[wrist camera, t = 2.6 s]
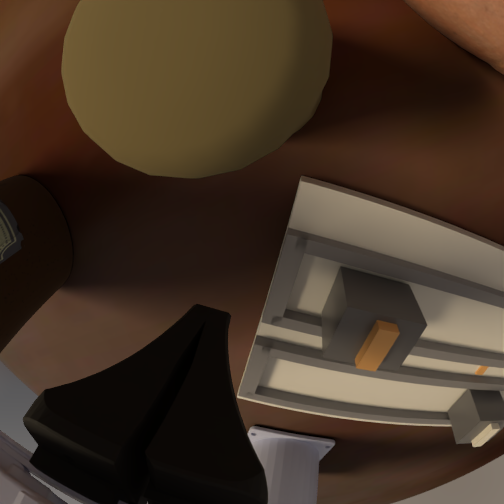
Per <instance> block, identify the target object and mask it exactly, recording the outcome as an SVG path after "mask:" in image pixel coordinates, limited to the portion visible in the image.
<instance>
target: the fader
mask: <svg viewBox="0 0 504 504" xmlns="http://www.w3.org/2000/svg"><path fill="white" fill-rule="evenodd" d="M448 415H449V418H450V422H451V426H452V429H453V433H454V437H455V441H456V444H463V443H472V446H473V447H479V446H482V445H483V444H484V443H485V442H488V441H489V440H490V439H491V438H492V437H494V436H495V435H496V434H497V433H498V432H499V431H500V430H501V429H502V428H503V427H504V400H503V398H502V396H501V393H500V391H494V390H476V389H467V390H466V391H465V392H464V393H463V395H462V396H461V397H460V398H459V399H458V400H457V401H456V402H455V403H454V405H453V406H452V407H451V408H450V409H449V410H448Z"/></svg>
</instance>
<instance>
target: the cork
mask: <svg viewBox="0 0 504 504" xmlns="http://www.w3.org/2000/svg"><path fill="white" fill-rule="evenodd" d="M332 40H333V34H332V30H331V27H330V23H329V20H328V16H327V13H326V10H325V6H324V3H323V0H81V1H80V2H79V3H78V5H77V7H76V9H75V12H74V14H73V17H72V19H71V22H70V24H69V27H68V30H67V33H66V35H65V38H64V47H63V57H62V70H61V72H62V78H63V83H64V88H65V93H66V97H67V102H68V105H69V106H70V108H71V110H72V112H73V114H74V115H75V117H76V119H77V121H78V123H79V124H80V126H81V128H82V130H83V131H84V132H85V133H86V134H87V135H88V136H89V137H90V138H91V139H92V140H93V141H94V142H95V143H97V144H98V145H99V146H100V147H101V148H102V149H103V150H104V151H106V152H107V153H108V154H109V155H110V156H111V157H112V158H113V159H115V160H116V161H118V162H120V163H122V164H125V165H127V166H129V167H132V168H134V169H136V170H139V171H141V172H143V173H146V174H148V175H155V176H167V177H179V178H204V177H208V176H213V175H217V174H222V173H227V172H232V171H236V170H241V169H242V168H244V167H246V166H248V165H249V164H251V163H253V162H255V161H257V160H258V159H260V158H262V157H264V156H266V155H268V154H269V153H271V152H273V151H275V150H277V149H279V148H280V147H281V146H282V144H283V143H284V142H285V141H286V140H287V139H288V138H289V137H290V136H291V135H292V134H293V133H295V132H297V131H299V130H300V129H301V128H302V127H303V126H304V125H305V124H306V123H307V122H308V121H309V120H310V119H311V118H312V117H313V115H314V113H315V111H316V109H317V107H318V105H319V103H320V101H321V98H322V90H323V88H324V86H325V84H326V82H327V80H328V78H329V71H330V62H331V51H332Z"/></svg>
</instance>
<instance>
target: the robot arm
mask: <svg viewBox="0 0 504 504" xmlns="http://www.w3.org/2000/svg"><path fill="white" fill-rule="evenodd" d="M230 319H231V315H230V314H229V313H227V312H224V311H220V310H217V309H213V308H210V307H206V306H203V305H199V304H196V305H194V306H193V307H192V308H191V309H190V310H189V311H188V312H187V313H186V314H185V315H184V316H183V317H182V318H180V319H179V320H178V321H177V322H176V323H175V324H174V325H173V326H171V327H170V328H169V329H168V330H167V331H165V332H164V333H163V334H162V335H160V336H159V337H158V338H156V339H155V340H154V341H152V342H151V343H150V344H148V345H147V346H145V347H144V348H143V349H141V350H139V351H138V352H136V353H135V354H133V355H132V356H130V357H128V358H126V359H125V360H123V361H121V362H119V363H117V364H115V365H113V366H111V367H109V368H107V369H105V370H103V371H101V372H99V373H96V374H94V375H91V376H88V377H86V378H83V379H81V380H78V381H75V382H72V383H69V384H65V385H61V386H58V387H54V388H50V389H45V390H44V391H43V392H42V393H41V395H40V396H39V397H38V398H37V399H36V400H35V402H34V403H33V404H32V406H31V407H30V409H29V410H28V412H27V413H26V414H25V416H24V417H23V422H24V425H25V427H26V428H27V430H28V431H29V433H30V434H31V435H32V437H33V438H34V440H35V441H36V442H37V443H38V447H37V449H36V451H35V452H34V454H33V453H31V452H30V451H28V450H27V449H25V448H24V447H22V446H21V445H20V444H18V443H17V442H15V441H14V440H12V439H11V438H10V437H9V436H7V435H6V434H4V433H3V432H2V431H1V430H0V504H67V503H66V502H65V501H63V500H62V499H60V498H59V497H58V496H57V495H55V494H54V493H53V492H52V491H51V490H50V489H49V488H48V487H46V486H45V485H43V484H42V483H41V482H39V481H38V480H36V479H35V478H34V477H32V476H31V475H30V473H32V474H33V475H35V476H37V477H38V478H40V479H41V480H43V481H44V482H46V483H48V484H49V485H51V486H52V487H54V488H56V489H57V490H59V491H61V492H63V493H64V494H66V495H68V496H70V497H71V498H73V499H75V500H77V501H79V502H81V503H83V504H147V501H148V504H316V502H317V489H318V472H319V461H320V460H321V459H322V458H323V457H324V456H325V455H326V454H327V453H328V452H329V451H330V450H331V448H332V447H333V446H334V445H335V440H333V439H326V438H318V437H312V436H305V435H299V434H293V433H288V432H282V431H277V430H272V429H267V428H263V427H258V426H252V427H251V428H250V429H249V432H248V434H247V431H246V429H245V426H244V423H243V420H242V417H241V415H240V412H239V408H238V405H237V401H236V397H235V393H234V389H233V384H232V379H231V373H230V366H229V355H228V328H229V323H230ZM29 472H30V473H29Z"/></svg>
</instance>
